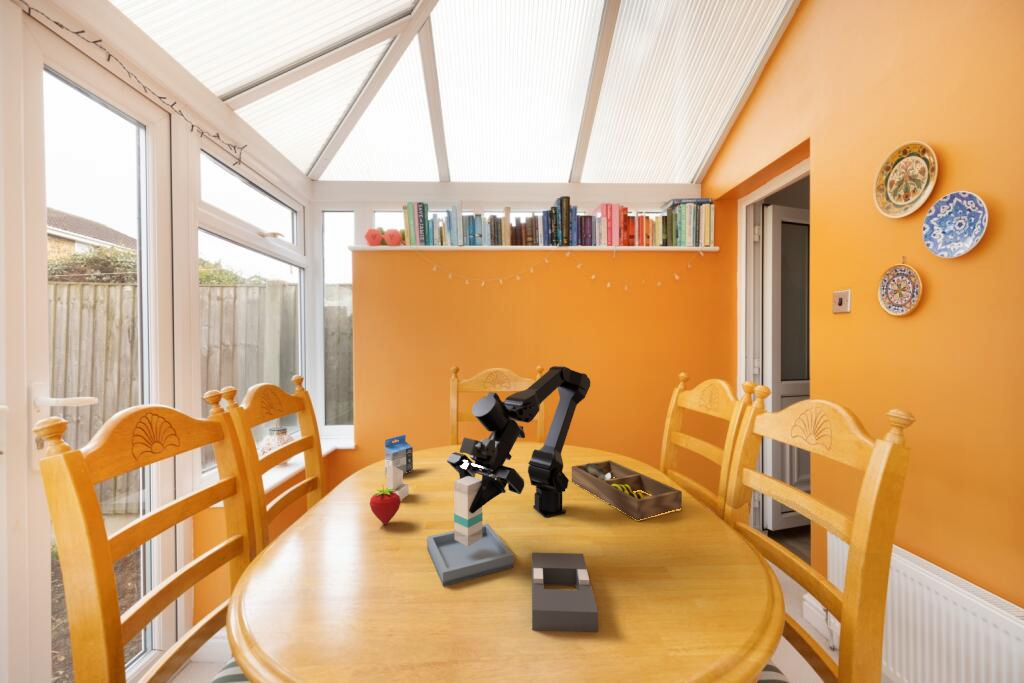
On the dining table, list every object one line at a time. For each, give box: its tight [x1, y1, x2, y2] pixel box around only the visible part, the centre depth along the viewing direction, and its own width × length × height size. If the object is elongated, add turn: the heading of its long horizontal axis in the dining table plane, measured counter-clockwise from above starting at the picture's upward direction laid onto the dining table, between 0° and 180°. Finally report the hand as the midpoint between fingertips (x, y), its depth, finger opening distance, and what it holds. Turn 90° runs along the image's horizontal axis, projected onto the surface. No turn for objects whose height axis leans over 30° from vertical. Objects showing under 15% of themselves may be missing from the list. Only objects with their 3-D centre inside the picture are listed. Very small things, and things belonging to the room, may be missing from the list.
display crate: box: [571, 459, 683, 520], centre depth 109 cm, size 15×29×5 cm, turn 24°
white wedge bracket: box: [386, 466, 410, 501], centre depth 107 cm, size 4×10×9 cm, turn 168°
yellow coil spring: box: [612, 484, 644, 499], centre depth 103 cm, size 10×5×5 cm, turn 16°
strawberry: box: [369, 484, 402, 525], centre depth 92 cm, size 6×8×10 cm
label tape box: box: [384, 434, 414, 476], centre depth 127 cm, size 9×4×12 cm, turn 147°
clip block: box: [531, 551, 599, 633], centre depth 66 cm, size 16×10×4 cm, turn 177°
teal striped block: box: [453, 476, 483, 546], centre depth 78 cm, size 4×4×12 cm
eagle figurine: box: [584, 462, 614, 481], centre depth 116 cm, size 8×7×9 cm
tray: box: [426, 523, 515, 587], centre depth 78 cm, size 14×14×2 cm
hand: (463, 509), depth 77 cm, fingers closed on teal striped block, 4 cm apart
